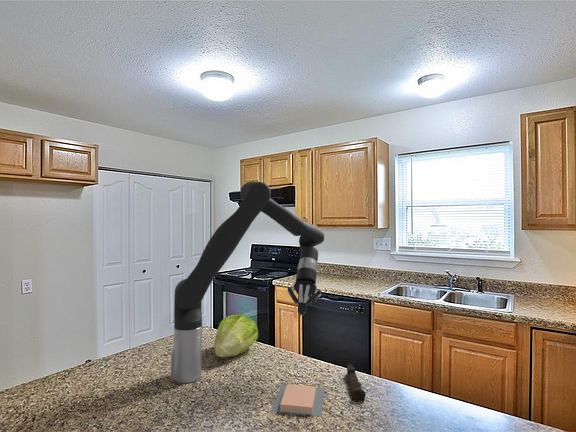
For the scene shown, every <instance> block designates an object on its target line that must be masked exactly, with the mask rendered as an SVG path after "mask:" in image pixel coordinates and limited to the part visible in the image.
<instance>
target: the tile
mask: <svg viewBox="0 0 576 432" xmlns="http://www.w3.org/2000/svg"><path fill="white" fill-rule="evenodd" d="M286 385H287V387H286V389H285V392H284V395H283V398H282V400H281V403H280V412H279V413H282V412H289V413H288V414H292V413H299V414H298V415H301V414H309V415H308V416H311V415H312V414H313V408H314V402H315V396H316V387H317V386H313V385H301V384H289V383H287V384H286Z"/></svg>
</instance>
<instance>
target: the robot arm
mask: <svg viewBox="0 0 576 432" xmlns="http://www.w3.org/2000/svg"><path fill="white" fill-rule="evenodd" d="M239 193H240V194H239V196H240V198H241V203H240V205H239V206H238V207H237V209H236V211H235V212H234V213H232V214H231V215H230V216H229V217H228V218H227V219H225V220H224V221H223V222H222V223H221V224H220V225H219V226H218V228H217V229H216V230H215V232H213V234H212V236H211V237H210V239H209V240H208V242H207V243H206V245H205V247H204V250H203V252H202V253H201V256H200V258H199V260H198V263H197V264H196V266H195V267H194V268H193V270H192V271H191V272H190V274H189V275H188V276H187V277H186V278H184V279H182V280H181V281H178V283H177V284H176V286H175V289H174V299H173V300H174V306H173V308H174V309H173V310H174V311H173V328H174V330H173V349H172V350H171V353H170V355H171V356H170V380H171V381H174V382H176V383H180V384H185V383H194V382H195V381H197V380H200V378H201V377H202V364H203V363H202V361H203V359H202V358H203V357H202V356H203V355H202V351H203V350H202V349H203V335H202V334H203V314H202V313H203V312H202V302H203V299H204V297H205V294H206V293H207V291H208V289H209V288H210V286H211V283H212V282H213V281H214V278H216V276H217V275H218V273H219V271H221V269H222V268H223V266H224V265H226V262H227V261H228V260H229V258H230V257H231V256H232V254H233V253H234V251H235V250H236V248H237V247H238V245H239V243H240V242H241V240H242V239H243V237H244V236H245V234H246V233H247V231H248V230H249V227H250V226H251V225H252V223H253V221H255V219H256V218H257V217H258V216H259V214H260V213H263V214H264V215H266V216H268V217H269V218H270V219H272V220H273V221H274V222H276V223H277V224H278V225H280V226H281V227H282V228H283V229H285V230H286V231H287V232H289V233H290V234H291V235H293V236H294V237H299V238H298V242H299V244H298V245H299V250H300V256H299V262H298V265H297V272H296V276H295V277H296V278H295V282H294V284H293V286H292V287H287V293H288V295H289V297H290V298H291V300H292V301H293V303H294V304H297V305H298V306H297V314H299V316H305V315H306V314H307V308H308V306H312V305H313V304H314V303H315V302H316V301H317V300H318V299H319V298H321V297H322V290H321V289H320V290H319V289H318V288H317V287H318V286H317V285H316V284H317V276H318V260H319V259H318V258H319V250H318V249H317V248H316V246H318V245H321V244H322V243H324V242H325V233H324V231H323V230H322V229H321V228H320V227H318V226H317V225H314V224H312V223H310V222H307V221H304V220H303V219H302V218H300V217H299V216H298V215H297V214H295V213H294V212H292V210H289V209H287V208H286V207H284V206H282V205H281V204H279V203H277V202H276V201H275V200H273V199H272V198H271V194H272V191H271V188H270V186H269V185H268V183H265V182H262V181H249V182H246V183H244V184H243V185H242V186H241V189H240V191H239ZM295 292H296V294H297V295H298V297H297V295H296V294H295Z"/></svg>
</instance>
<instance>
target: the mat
mask: <svg viewBox="0 0 576 432" xmlns="http://www.w3.org/2000/svg"><path fill="white" fill-rule="evenodd" d="M286 387H287V384H283V383H282V384H281V385H280V388H279V390H278V392H277V395H276V398H275V400H274V403H273V406H272V408H271V411H270V412H272V413H274V412H275V413H285V414H290V413H289V412H280V403H281V400H282V398H283V395H284V392H285V389H286ZM315 387H316V396H315V402H314V408H313V414H312V415H309V414H299V413H291V414H294V415H303V416H304V415H305V416H313V417H322V414H323V406H324V398H325V390H326V388H325V387H317V386H315Z"/></svg>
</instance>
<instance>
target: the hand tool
mask: <svg viewBox="0 0 576 432" xmlns="http://www.w3.org/2000/svg"><path fill="white" fill-rule="evenodd" d="M346 374H347V376H346V377H347V381H348V384H349V385H348V386H349V389H350V393H351V401H357V402H359V401H360V402H362V401H363V402H364V401H365V397H366V392H365V391H364V390H363V389H362V383H361V382H360V380H359V379H358V376H357V373H356V369H355V367H354V366H353V364H351V363H348V364H347V366H346Z"/></svg>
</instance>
